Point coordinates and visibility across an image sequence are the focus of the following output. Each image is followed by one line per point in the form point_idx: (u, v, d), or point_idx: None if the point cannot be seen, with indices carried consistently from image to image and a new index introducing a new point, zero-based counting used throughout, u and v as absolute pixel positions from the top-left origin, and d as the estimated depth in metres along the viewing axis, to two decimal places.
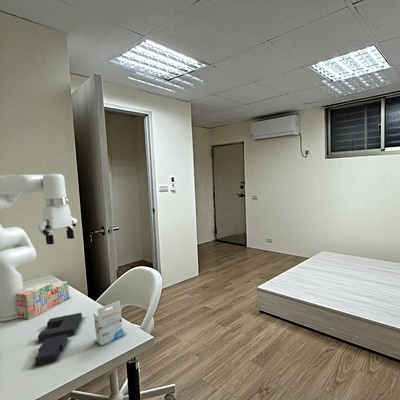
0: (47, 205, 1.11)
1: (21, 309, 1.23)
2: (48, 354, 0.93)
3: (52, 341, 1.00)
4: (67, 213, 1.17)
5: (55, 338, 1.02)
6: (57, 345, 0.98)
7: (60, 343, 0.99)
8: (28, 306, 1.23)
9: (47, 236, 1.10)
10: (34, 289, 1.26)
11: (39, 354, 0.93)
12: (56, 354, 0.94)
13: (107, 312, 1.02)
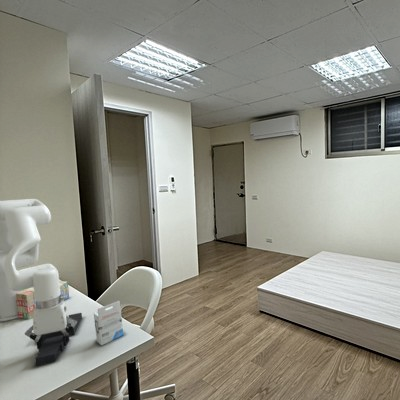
0: None
1: (21, 309, 1.23)
2: (48, 354, 0.93)
3: (52, 341, 1.00)
4: (56, 316, 0.98)
5: (55, 338, 1.02)
6: (57, 345, 0.98)
7: (60, 343, 0.99)
8: (28, 306, 1.23)
9: None
10: None
11: (39, 354, 0.93)
12: (56, 354, 0.94)
13: (107, 312, 1.02)
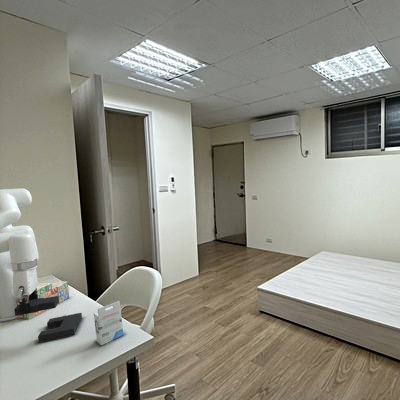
0: (19, 270, 1.00)
1: None
2: (55, 297, 1.09)
3: None
4: (36, 274, 1.07)
5: None
6: (42, 298, 1.08)
7: (40, 298, 1.09)
8: None
9: (24, 305, 1.01)
10: None
11: (48, 301, 1.06)
12: None
13: (107, 312, 1.02)
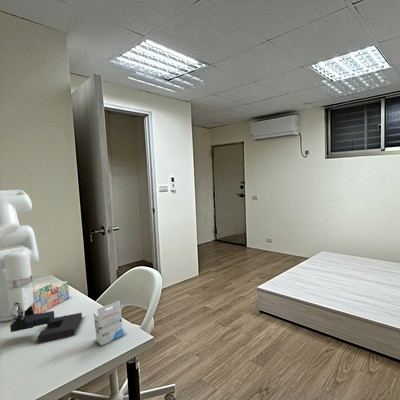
0: (14, 287, 1.03)
1: None
2: (50, 313, 1.12)
3: None
4: (31, 290, 1.10)
5: None
6: (38, 314, 1.11)
7: (35, 314, 1.11)
8: None
9: (19, 321, 1.03)
10: (34, 289, 1.26)
11: (44, 317, 1.08)
12: None
13: (107, 312, 1.02)
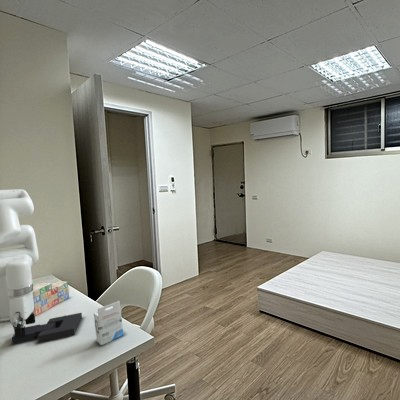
0: (15, 296, 1.03)
1: None
2: (52, 324, 1.12)
3: None
4: (32, 298, 1.11)
5: None
6: (39, 325, 1.12)
7: (37, 325, 1.12)
8: None
9: (19, 329, 1.03)
10: (34, 289, 1.26)
11: (45, 329, 1.09)
12: None
13: (107, 312, 1.02)
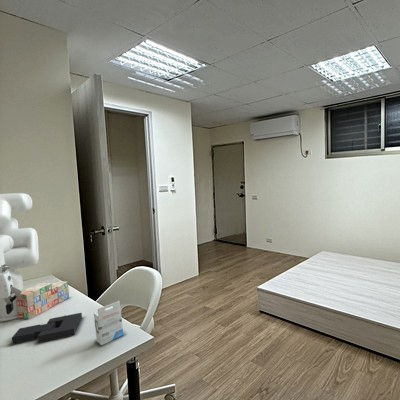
0: None
1: (21, 309, 1.23)
2: (52, 324, 1.12)
3: (24, 331, 1.08)
4: None
5: (20, 331, 1.08)
6: (39, 325, 1.12)
7: (37, 325, 1.12)
8: (28, 306, 1.23)
9: None
10: (34, 289, 1.26)
11: (45, 329, 1.09)
12: None
13: (107, 312, 1.02)
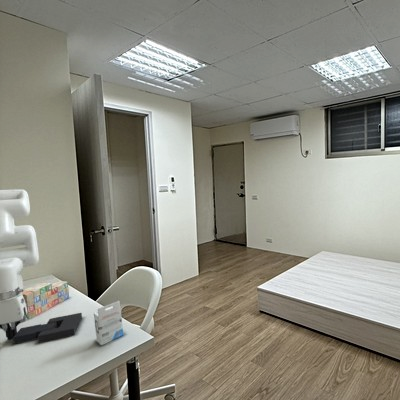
0: None
1: None
2: (53, 324, 1.12)
3: (26, 331, 1.08)
4: (13, 308, 1.04)
5: (21, 331, 1.08)
6: (40, 325, 1.12)
7: (38, 325, 1.12)
8: (28, 306, 1.23)
9: None
10: (34, 289, 1.26)
11: (46, 328, 1.09)
12: None
13: (107, 312, 1.02)
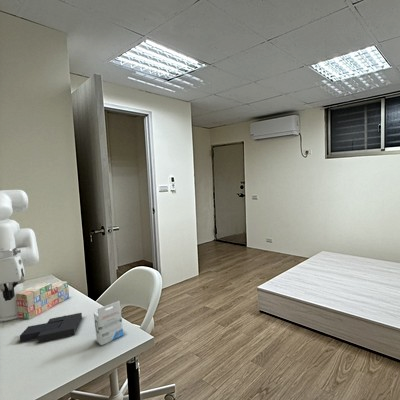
0: None
1: (21, 309, 1.23)
2: (59, 323, 1.13)
3: (32, 329, 1.09)
4: (10, 267, 1.03)
5: (28, 329, 1.09)
6: (47, 324, 1.13)
7: (45, 323, 1.13)
8: (28, 306, 1.23)
9: None
10: (34, 289, 1.26)
11: (52, 327, 1.09)
12: None
13: (107, 312, 1.02)
